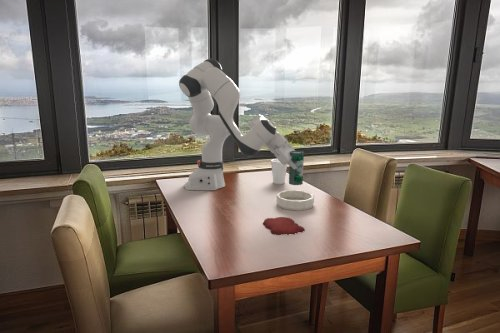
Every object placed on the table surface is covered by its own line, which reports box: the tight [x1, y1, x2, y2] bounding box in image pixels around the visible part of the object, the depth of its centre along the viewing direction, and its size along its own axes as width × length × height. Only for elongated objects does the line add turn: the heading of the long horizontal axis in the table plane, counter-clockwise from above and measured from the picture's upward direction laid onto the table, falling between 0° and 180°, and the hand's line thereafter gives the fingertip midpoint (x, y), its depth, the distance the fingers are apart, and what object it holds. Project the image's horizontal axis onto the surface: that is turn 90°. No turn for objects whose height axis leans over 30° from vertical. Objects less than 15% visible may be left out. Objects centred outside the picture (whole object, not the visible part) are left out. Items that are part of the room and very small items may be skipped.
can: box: [288, 150, 305, 186], centre depth 173 cm, size 6×6×15 cm
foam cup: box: [270, 158, 289, 185], centre depth 213 cm, size 10×9×13 cm
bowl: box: [275, 189, 315, 212], centre depth 177 cm, size 17×17×4 cm
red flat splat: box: [262, 216, 305, 236], centre depth 151 cm, size 18×14×2 cm
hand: (297, 166), depth 173 cm, fingers closed on can, 6 cm apart
